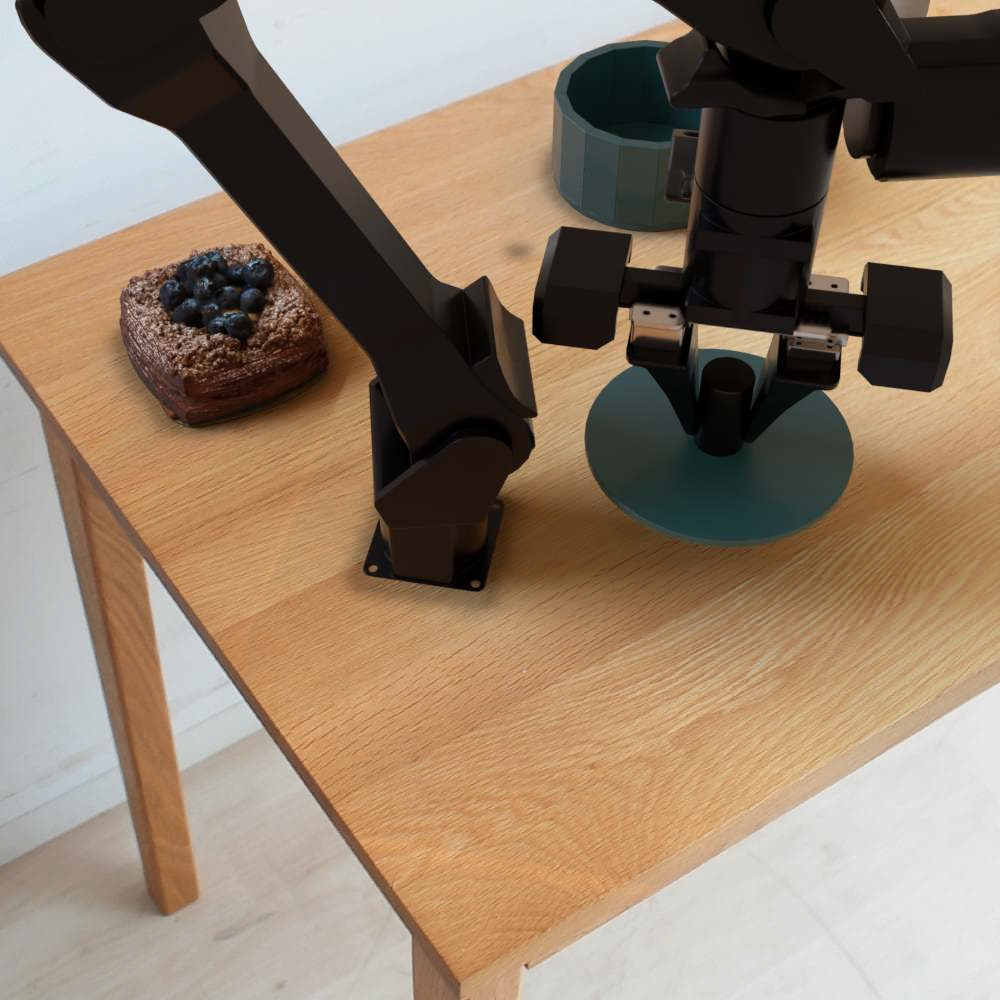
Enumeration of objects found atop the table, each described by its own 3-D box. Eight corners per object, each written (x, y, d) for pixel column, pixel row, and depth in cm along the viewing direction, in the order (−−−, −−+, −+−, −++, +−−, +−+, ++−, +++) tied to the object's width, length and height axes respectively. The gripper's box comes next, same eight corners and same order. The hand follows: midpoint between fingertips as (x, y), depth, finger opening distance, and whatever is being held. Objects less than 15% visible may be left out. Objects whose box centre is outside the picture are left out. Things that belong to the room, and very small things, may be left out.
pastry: (181, 445, 82) (163, 370, 78) (103, 326, 89) (82, 250, 85) (352, 375, 86) (344, 299, 82) (265, 265, 93) (253, 190, 88)
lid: (846, 574, 69) (868, 496, 65) (564, 534, 71) (568, 455, 66) (853, 380, 78) (873, 300, 74) (603, 348, 79) (608, 268, 75)
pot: (728, 241, 95) (741, 158, 90) (538, 219, 96) (540, 136, 91) (743, 132, 103) (755, 50, 98) (568, 113, 104) (571, 31, 99)
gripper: (981, 94, 65) (908, 349, 77) (573, 52, 68) (563, 307, 79) (989, 247, 58) (907, 503, 70) (532, 194, 60) (527, 451, 72)
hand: (720, 432), depth 73 cm, fingers closed on lid, 2 cm apart
